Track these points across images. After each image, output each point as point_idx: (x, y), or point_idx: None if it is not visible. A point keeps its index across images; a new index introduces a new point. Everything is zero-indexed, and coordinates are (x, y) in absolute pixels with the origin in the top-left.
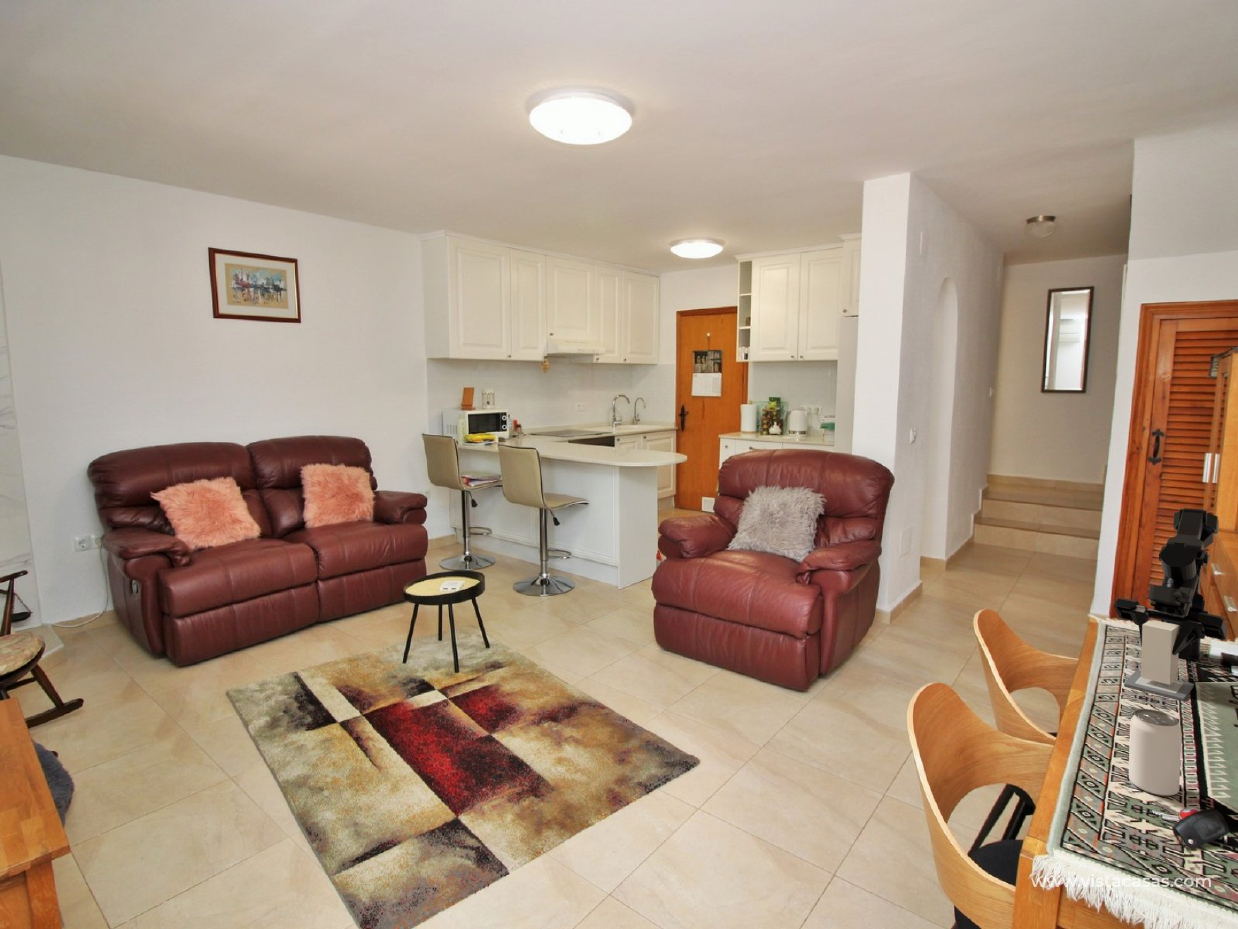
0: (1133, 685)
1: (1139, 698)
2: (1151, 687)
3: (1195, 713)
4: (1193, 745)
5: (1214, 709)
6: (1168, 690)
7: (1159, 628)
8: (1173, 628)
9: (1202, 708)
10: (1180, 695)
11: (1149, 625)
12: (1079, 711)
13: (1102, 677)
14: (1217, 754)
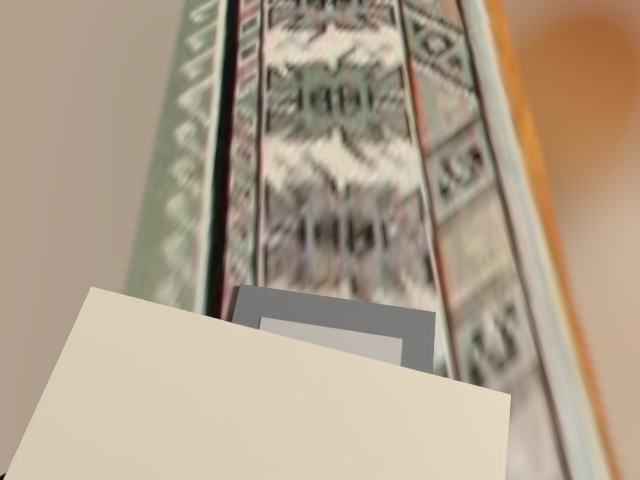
0: (402, 313)
1: (370, 224)
2: (341, 328)
3: (218, 203)
4: (241, 13)
5: (161, 274)
6: (284, 334)
7: (244, 326)
8: (28, 459)
9: (194, 259)
10: (248, 309)
11: (397, 414)
12: (492, 28)
13: (526, 372)
14: (201, 3)
